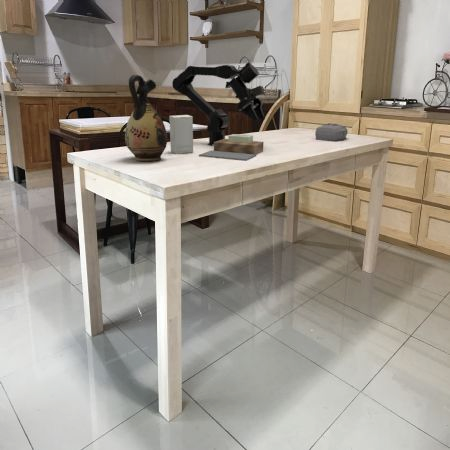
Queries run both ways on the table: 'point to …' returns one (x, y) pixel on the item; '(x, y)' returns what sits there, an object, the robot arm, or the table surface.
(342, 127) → the soft grey pack
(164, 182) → the table surface
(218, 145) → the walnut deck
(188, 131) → the skincare box
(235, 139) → the sage tile
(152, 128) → the ceramic jug
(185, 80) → the robot arm
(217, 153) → the charcoal mat
